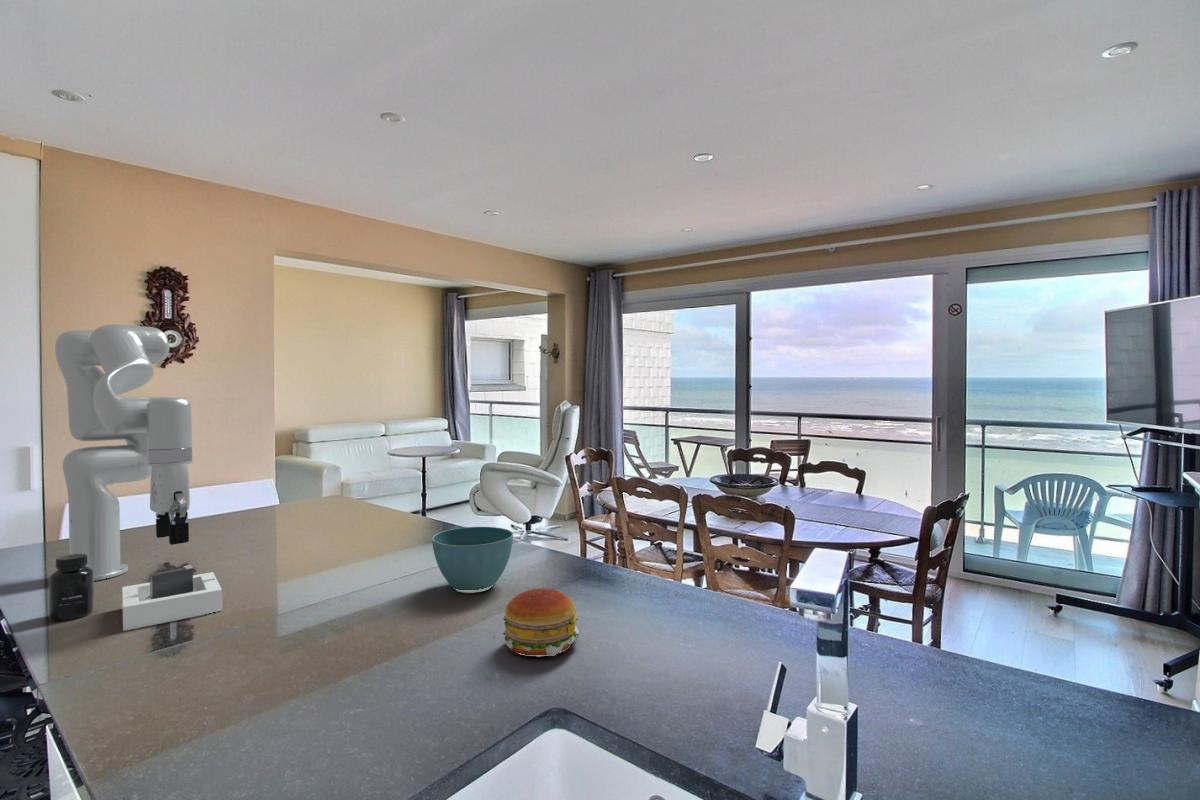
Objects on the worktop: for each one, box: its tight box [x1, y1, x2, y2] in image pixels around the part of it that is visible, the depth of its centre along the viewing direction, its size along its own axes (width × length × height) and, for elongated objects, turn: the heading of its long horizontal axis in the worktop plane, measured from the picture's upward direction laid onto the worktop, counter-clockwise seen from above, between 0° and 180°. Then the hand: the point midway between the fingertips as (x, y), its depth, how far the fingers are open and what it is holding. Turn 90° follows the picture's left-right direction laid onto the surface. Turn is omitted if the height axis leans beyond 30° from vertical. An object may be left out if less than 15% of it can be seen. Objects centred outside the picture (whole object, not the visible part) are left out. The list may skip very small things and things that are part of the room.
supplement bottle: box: [48, 554, 95, 622], centre depth 121 cm, size 7×7×12 cm
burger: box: [502, 587, 580, 657], centre depth 106 cm, size 13×14×10 cm
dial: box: [145, 564, 198, 600], centre depth 124 cm, size 9×9×7 cm
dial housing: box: [121, 571, 223, 632], centre depth 124 cm, size 15×16×5 cm
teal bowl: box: [431, 526, 514, 590], centre depth 137 cm, size 18×18×12 cm
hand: (172, 539), depth 123 cm, fingers open, 9 cm apart
